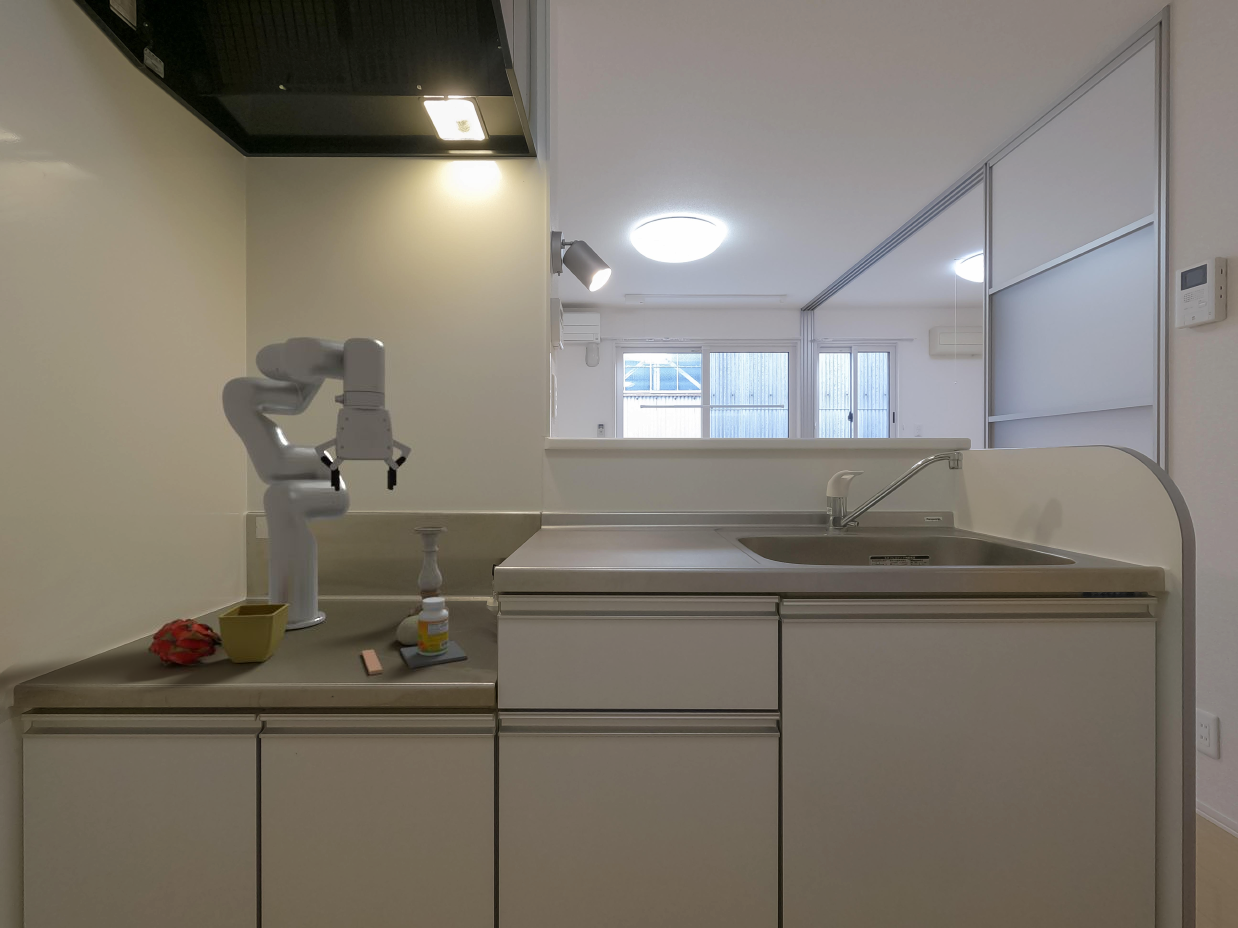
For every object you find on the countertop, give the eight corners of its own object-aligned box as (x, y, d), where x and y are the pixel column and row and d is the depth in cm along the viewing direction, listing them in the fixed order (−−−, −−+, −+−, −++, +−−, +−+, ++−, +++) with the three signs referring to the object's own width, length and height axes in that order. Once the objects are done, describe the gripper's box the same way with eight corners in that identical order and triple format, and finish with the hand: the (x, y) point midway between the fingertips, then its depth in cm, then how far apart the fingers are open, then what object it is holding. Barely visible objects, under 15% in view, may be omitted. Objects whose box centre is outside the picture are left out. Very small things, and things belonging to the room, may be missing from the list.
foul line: (361, 653, 109) (361, 650, 109) (373, 652, 110) (373, 649, 110) (369, 674, 99) (369, 671, 99) (382, 672, 100) (382, 669, 100)
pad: (400, 651, 111) (400, 648, 111) (453, 643, 116) (453, 640, 116) (409, 668, 102) (409, 664, 102) (467, 658, 107) (467, 655, 107)
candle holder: (430, 621, 132) (430, 531, 132) (401, 616, 136) (401, 528, 135) (457, 612, 140) (457, 527, 140) (429, 607, 143) (429, 525, 143)
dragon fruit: (154, 668, 106) (216, 680, 105) (123, 653, 99) (189, 666, 98) (182, 623, 111) (242, 634, 110) (154, 606, 104) (218, 618, 103)
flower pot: (290, 649, 112) (290, 602, 112) (272, 665, 103) (272, 614, 103) (239, 652, 110) (239, 604, 110) (217, 668, 102) (217, 616, 101)
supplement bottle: (416, 648, 110) (417, 597, 110) (446, 645, 112) (446, 595, 112) (419, 658, 105) (419, 604, 105) (449, 654, 107) (450, 601, 107)
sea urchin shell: (434, 639, 112) (407, 608, 113) (408, 666, 113) (381, 635, 114) (456, 626, 121) (431, 597, 122) (432, 651, 122) (407, 622, 123)
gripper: (315, 398, 107) (315, 492, 107) (414, 403, 116) (413, 490, 116) (313, 402, 114) (313, 490, 114) (407, 406, 122) (407, 488, 122)
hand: (364, 490), depth 115 cm, fingers open, 9 cm apart
